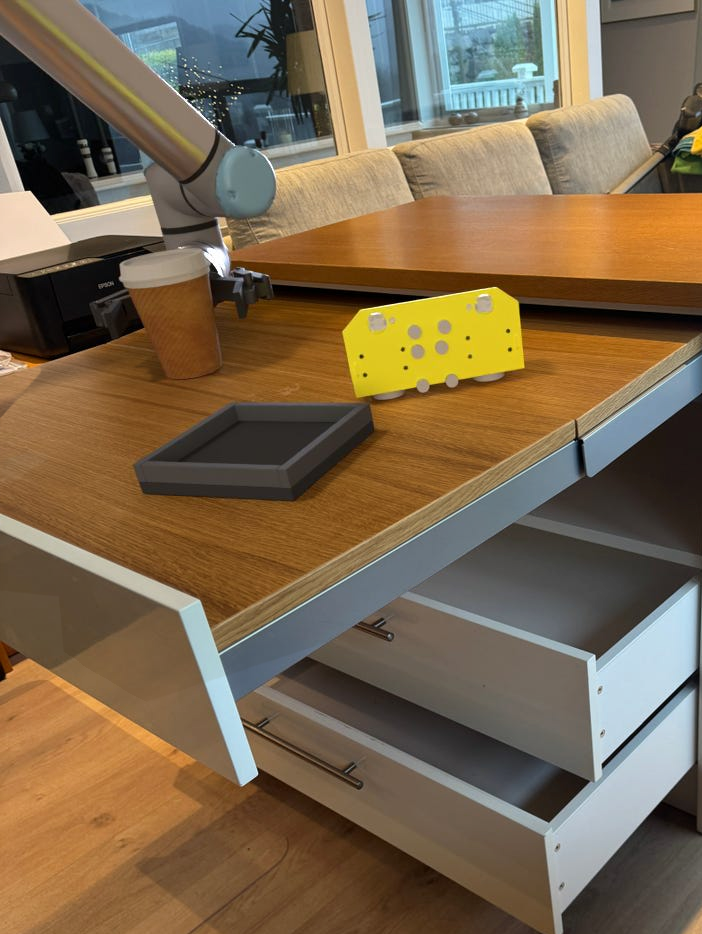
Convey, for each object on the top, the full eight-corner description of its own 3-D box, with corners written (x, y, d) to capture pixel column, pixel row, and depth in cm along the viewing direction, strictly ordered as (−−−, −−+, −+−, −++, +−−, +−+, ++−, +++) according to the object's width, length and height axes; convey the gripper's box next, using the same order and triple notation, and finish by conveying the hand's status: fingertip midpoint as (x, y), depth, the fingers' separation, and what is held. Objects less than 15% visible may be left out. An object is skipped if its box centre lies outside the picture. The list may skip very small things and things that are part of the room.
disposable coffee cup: (239, 352, 105) (210, 242, 98) (234, 375, 97) (202, 257, 90) (157, 366, 104) (122, 256, 98) (146, 390, 96) (107, 272, 90)
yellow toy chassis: (358, 408, 83) (339, 315, 78) (353, 390, 87) (336, 301, 83) (526, 377, 84) (517, 284, 79) (513, 362, 89) (504, 273, 84)
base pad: (142, 493, 71) (131, 464, 70) (238, 428, 82) (231, 402, 80) (293, 501, 66) (285, 469, 65) (375, 430, 77) (369, 402, 76)
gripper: (298, 293, 116) (299, 332, 99) (104, 325, 114) (70, 370, 97) (285, 231, 112) (283, 260, 95) (83, 263, 110) (43, 298, 93)
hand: (175, 316), depth 96 cm, fingers open, 13 cm apart
